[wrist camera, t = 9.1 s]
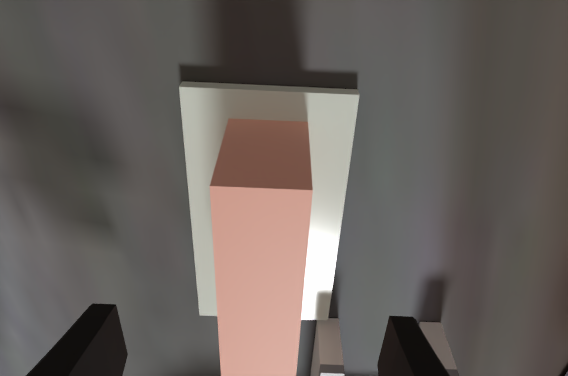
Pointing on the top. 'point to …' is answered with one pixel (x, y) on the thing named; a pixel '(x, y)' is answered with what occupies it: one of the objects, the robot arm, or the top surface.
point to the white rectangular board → (324, 166)
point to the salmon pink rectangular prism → (261, 244)
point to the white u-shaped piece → (330, 358)
